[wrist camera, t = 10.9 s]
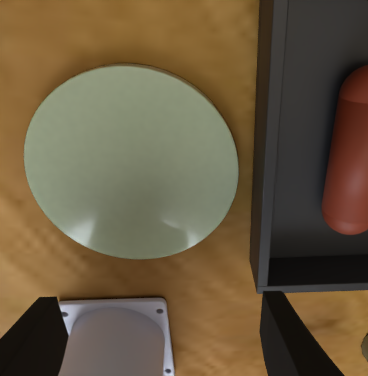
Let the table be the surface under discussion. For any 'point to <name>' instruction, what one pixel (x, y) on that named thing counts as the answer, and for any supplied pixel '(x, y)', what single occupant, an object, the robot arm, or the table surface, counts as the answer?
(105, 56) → the table surface
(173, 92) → the plate
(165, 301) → the robot arm
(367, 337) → the olive chess pawn
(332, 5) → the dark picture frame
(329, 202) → the sausage
